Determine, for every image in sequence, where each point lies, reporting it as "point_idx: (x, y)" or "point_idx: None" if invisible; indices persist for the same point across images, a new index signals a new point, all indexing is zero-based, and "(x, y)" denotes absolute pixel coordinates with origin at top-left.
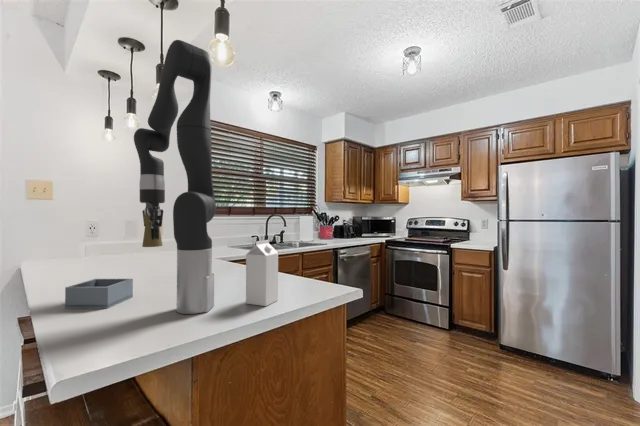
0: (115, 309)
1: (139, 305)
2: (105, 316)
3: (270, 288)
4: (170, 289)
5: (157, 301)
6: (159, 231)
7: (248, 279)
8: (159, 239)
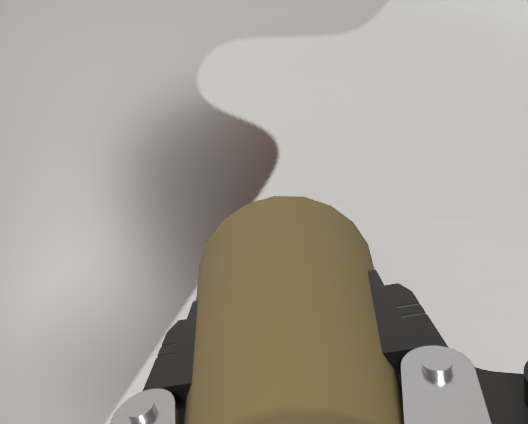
0: (440, 302)
1: (441, 233)
2: (505, 326)
3: None
4: (226, 89)
5: (426, 170)
6: (353, 306)
7: None
8: (362, 257)
